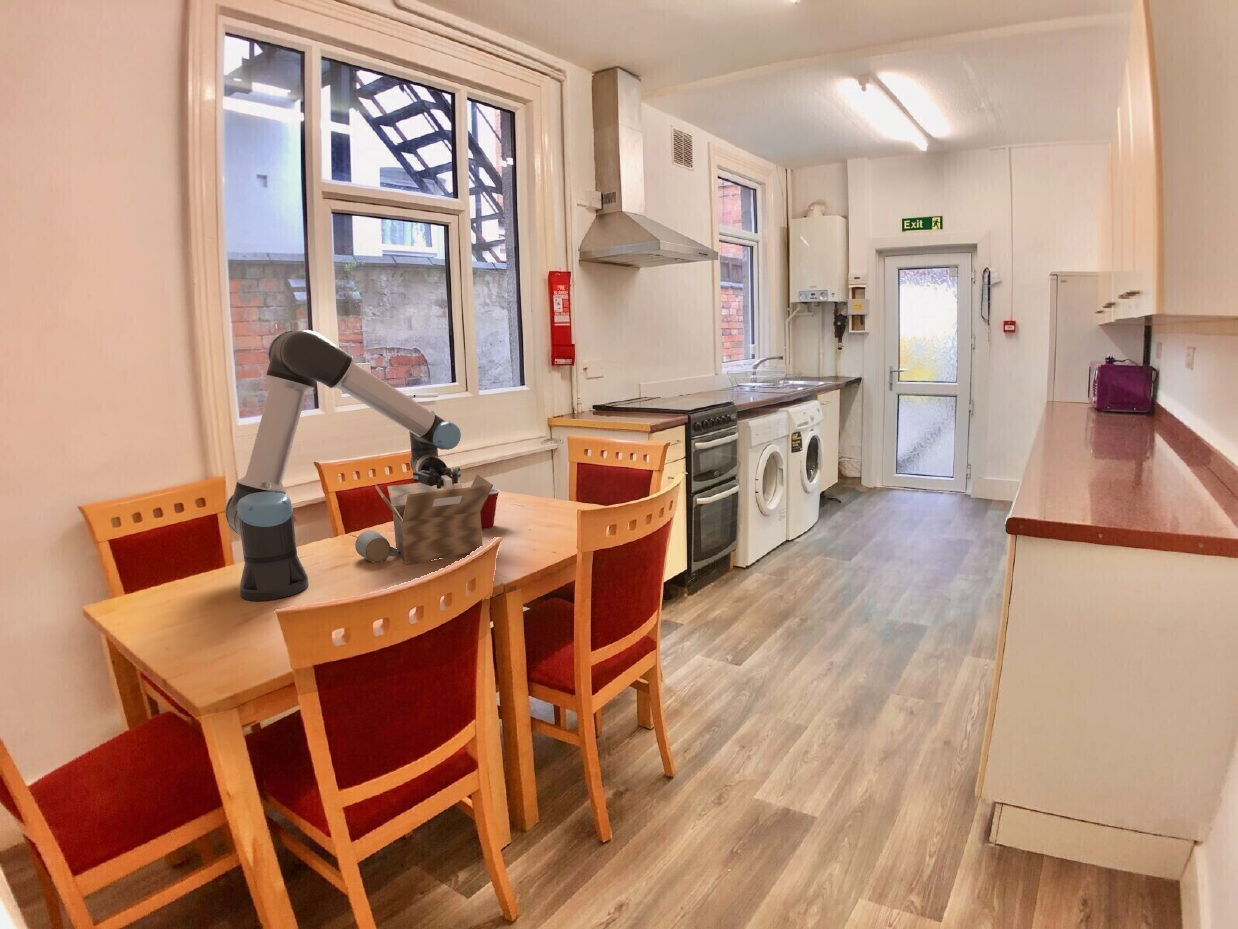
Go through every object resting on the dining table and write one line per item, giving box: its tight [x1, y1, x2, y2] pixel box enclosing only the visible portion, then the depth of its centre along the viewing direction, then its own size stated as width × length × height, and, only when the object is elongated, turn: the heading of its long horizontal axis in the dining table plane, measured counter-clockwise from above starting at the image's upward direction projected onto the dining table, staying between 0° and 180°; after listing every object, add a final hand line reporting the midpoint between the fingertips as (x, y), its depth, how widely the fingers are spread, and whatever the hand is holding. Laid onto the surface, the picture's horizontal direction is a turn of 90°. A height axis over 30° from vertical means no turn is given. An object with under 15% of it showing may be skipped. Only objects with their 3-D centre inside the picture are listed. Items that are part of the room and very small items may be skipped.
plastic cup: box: [480, 488, 501, 530], centre depth 230 cm, size 11×11×12 cm
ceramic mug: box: [354, 530, 400, 564], centre depth 201 cm, size 11×8×8 cm
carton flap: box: [403, 485, 490, 522], centre depth 189 cm, size 20×17×1 cm
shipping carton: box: [374, 474, 494, 566], centre depth 209 cm, size 30×26×19 cm
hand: (449, 485), depth 183 cm, fingers closed
